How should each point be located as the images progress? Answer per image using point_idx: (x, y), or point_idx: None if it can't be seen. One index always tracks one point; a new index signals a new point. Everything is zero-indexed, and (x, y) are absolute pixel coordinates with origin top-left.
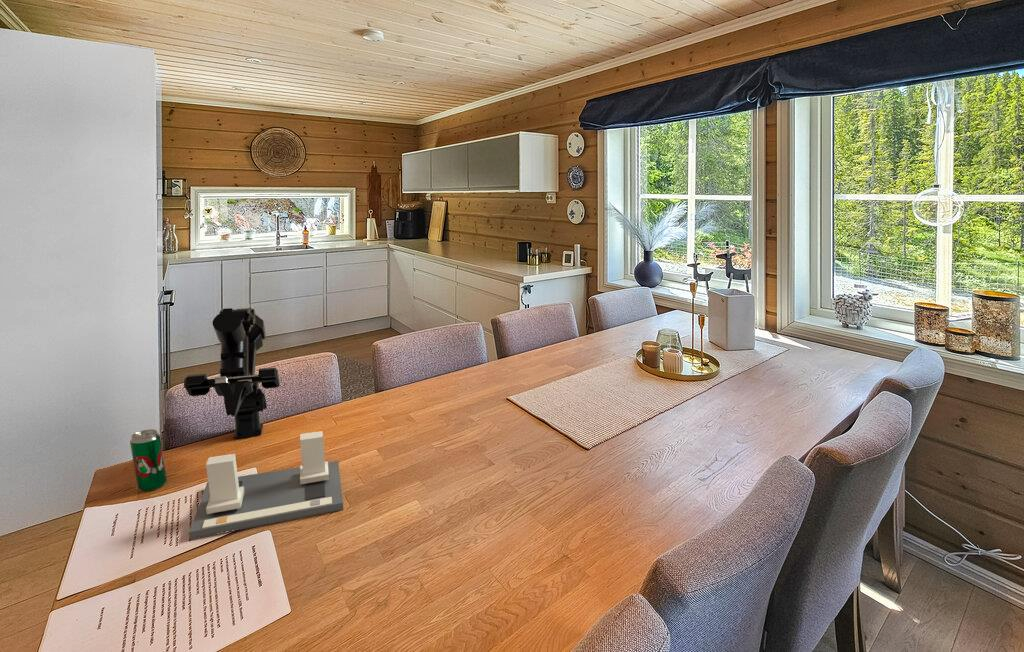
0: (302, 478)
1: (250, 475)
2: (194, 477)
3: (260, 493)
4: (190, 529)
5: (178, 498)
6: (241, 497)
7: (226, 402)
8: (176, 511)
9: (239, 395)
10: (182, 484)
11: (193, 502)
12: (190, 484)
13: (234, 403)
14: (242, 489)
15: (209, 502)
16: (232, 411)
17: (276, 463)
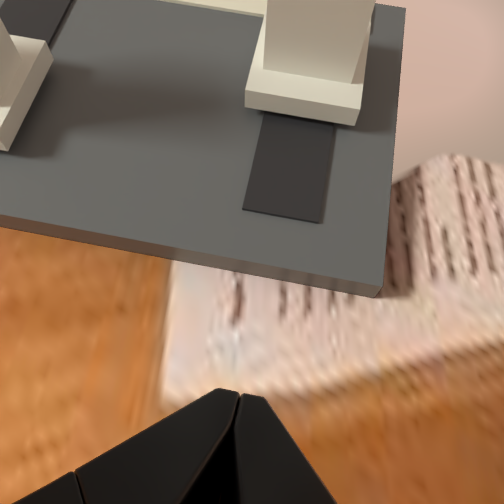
0: (35, 40)
1: (204, 246)
2: (447, 449)
3: (193, 94)
4: (403, 17)
5: (479, 274)
6: (260, 33)
7: (333, 501)
8: (465, 185)
9: (25, 501)
10: (490, 399)
11: (417, 215)
12: (453, 378)
13: (192, 442)
14: (252, 72)
15: (363, 48)
16: (242, 408)
17: (63, 385)
